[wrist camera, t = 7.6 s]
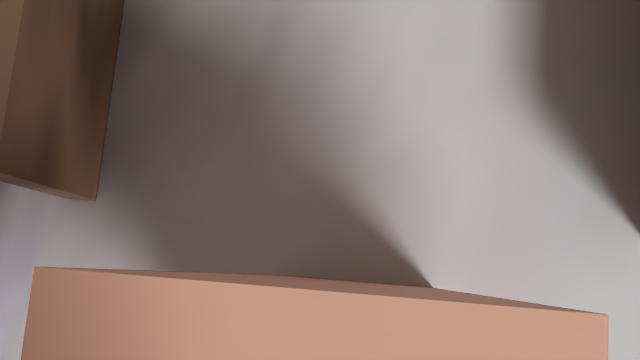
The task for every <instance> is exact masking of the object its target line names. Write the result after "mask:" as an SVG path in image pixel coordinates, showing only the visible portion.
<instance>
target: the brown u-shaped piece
mask: <svg viewBox="0 0 640 360" xmlns="http://www.w3.org/2000/svg"><path fill="white" fill-rule="evenodd" d="M123 4H124V0H0V181H3V182H7V183H11V184H14V185H18V186H22V187H26V188H29V189H33V190H37V191H40V192H44V193H48V194H52V195H55V196H59V197H63V198H73V199H86V200H96V195H97V188H98V181H99V174H100V167H101V160H102V153H103V146H104V139H105V132H106V125H107V118H108V111H109V103H110V96H111V89H112V82H113V75H114V68H115V61H116V54H117V47H118V40H119V33H120V26H121V18H122V11H123Z"/></svg>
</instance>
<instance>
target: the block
mask: <svg viewBox="0 0 640 360" xmlns="http://www.w3.org/2000/svg"><path fill="white" fill-rule="evenodd" d="M608 316H609V315H606V314H600V313H593V312H587V311H580V310H574V309H567V308H561V307H554V306H548V305H541V304H534V303H528V302H521V301H515V300H508V299H502V298H495V297H489V296H482V295H475V294H469V293H462V292H456V291H449V290H443V289H436V288H426V287H414V286H402V285H390V284H378V283H366V282H353V281H341V280H329V279H317V278H305V277H292V276H280V275H256V274H228V273H200V272H171V271H143V270H115V269H86V268H58V267H35V268H34V275H33V282H32V288H31V295H30V302H29V308H28V315H27V322H26V328H25V335H24V341H23V348H22V355H21V360H608Z"/></svg>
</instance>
